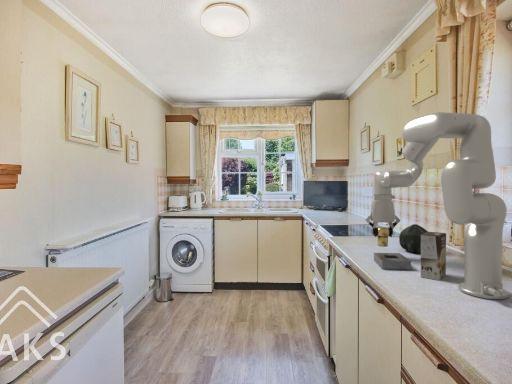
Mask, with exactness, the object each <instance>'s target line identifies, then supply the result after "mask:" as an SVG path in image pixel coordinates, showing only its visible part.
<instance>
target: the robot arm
mask: <svg viewBox="0 0 512 384" xmlns="http://www.w3.org/2000/svg"><path fill="white" fill-rule="evenodd" d="M491 128H492V127H491V124H490V122H489V120H488V119H487V117H484V116H483V115H480V114H475V113H466V112H465V113H464V112H443V111H442V112H435V113H434V112H433V113H430V114H428V115H423V116H421V117H417V118H413V119H411V120H409V121H408V122H406V124H405V125H404V126H403V128H402V132H401V137H402V139H403V140H404V141H405V142H407V143H406V144H405V146H404V147H403V149H402V156H403V157H404V158H405V160H407V161H409V162H410V164H409V165H408V166H407V167H406V169H404V170H386V171H376V172H375V173H374V174H373V177H374V178H373V200H372V201H371V206H370V215H369V216H367V218H365V222H367V224H368V225H370V227H372V236H374V237H375V238H378V236H377V228H376V227H378V226H377V225H378V223H388V227H389V228H390V236H389V237H390V238H392V237H393V235H394V228H395V227H396V226H397V225H398V224H399V223H400V222H401V219H399V217H398V216H397V215H396V211H395V210H396V209H395V204H394V201H393V199H395V198H396V196H395V195H393V194H392V188H393V189H394V188H395V189H396V188H409V187H411V186H412V185H414V183H416V181H417V180H418V179H419V178H420V177H421V175H422V173H423V170H424V169H423V168H424V162H423V161H424V160H423V159H425V157H426V156H427V155H428V154H429V152H430V151H431V150H432V148H434V146H435V145H436V143H437V142H438V141H439V140H440V139H462V140H461V142H460V145H459V150H458V151H459V156H460V157H459V158H458V159H453V160H451V161H449V162H448V163H446V164H445V165H444V167H443V168H442V171H441V176H440V182H441V183H440V184H441V189H442V190H441V192H442V198H443V200H442V201H443V206H444V212H445V215H446V217H447V218H448V219H449V221H451V223H454V224H456V225H461V226H463V225H465V226H466V225H467V227H466V230H465V233H464V255H463V256H464V258H463V259H464V260H463V261H464V263H463V264H464V265H463V266H464V267H463V268H464V270H463V271H464V273H463V276H464V278H463V279H464V281H463V282H461V283H459V284H458V290H459V291H461V292H462V293H464V294H467V295H469V296H473V297H475V298H481V299H485V300H486V299H487V300H503V299H504V300H505V299H507V298H509V291H508V290H506V289H504V288H503V285H504V284H503V275H502V274H503V233H504V225H505V221H506V217H507V213H508V211H507V205H506V202H505V200H503V198H501V197H500V196H498V195H496V194H493V193H488V192H479V193H478V192H477V193H474V191H473V190H481V189H487V188H489V187H492V186H493V185H494V184H495V183H496V179H497V173H496V171H497V170H496V165H495V157H494V149H493V145H492V144H493V143H492V129H491Z"/></svg>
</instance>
